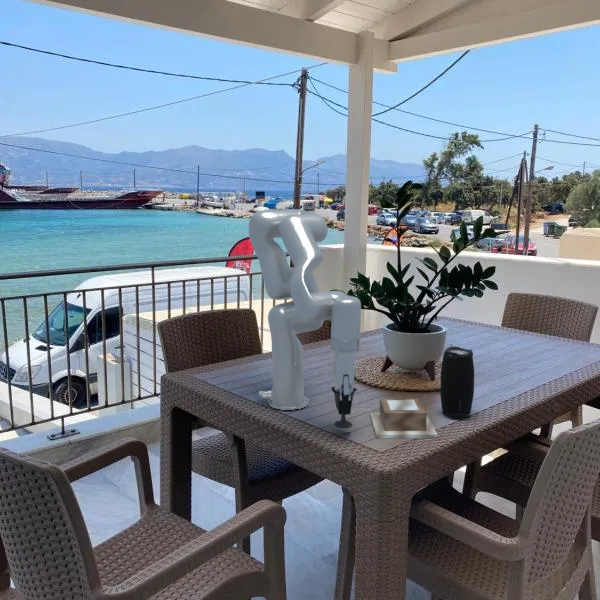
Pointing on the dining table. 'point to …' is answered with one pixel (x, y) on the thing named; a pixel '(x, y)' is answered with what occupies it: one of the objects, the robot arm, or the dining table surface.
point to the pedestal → (402, 420)
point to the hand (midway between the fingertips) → (343, 409)
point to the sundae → (342, 422)
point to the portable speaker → (457, 382)
